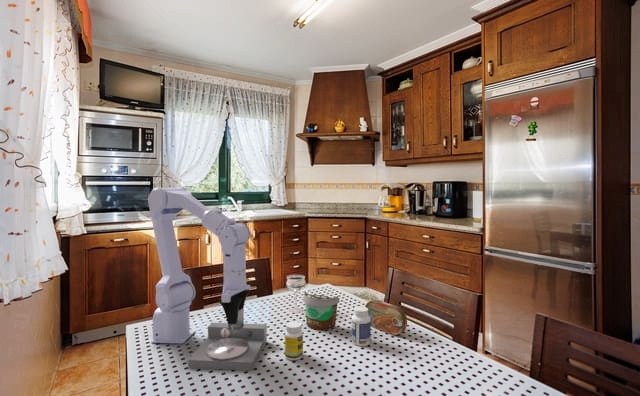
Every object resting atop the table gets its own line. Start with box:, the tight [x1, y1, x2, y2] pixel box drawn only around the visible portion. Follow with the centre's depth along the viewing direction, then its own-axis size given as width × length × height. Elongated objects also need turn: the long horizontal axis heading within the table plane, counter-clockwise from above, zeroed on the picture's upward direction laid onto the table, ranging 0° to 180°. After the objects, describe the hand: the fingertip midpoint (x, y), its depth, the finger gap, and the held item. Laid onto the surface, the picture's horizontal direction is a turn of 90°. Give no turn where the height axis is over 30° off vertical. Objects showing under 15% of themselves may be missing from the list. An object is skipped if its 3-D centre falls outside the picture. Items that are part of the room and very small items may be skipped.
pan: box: [207, 338, 248, 360], centre depth 85 cm, size 10×10×1 cm
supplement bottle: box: [284, 321, 304, 361], centre depth 86 cm, size 5×5×8 cm
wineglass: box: [286, 274, 306, 314], centre depth 118 cm, size 7×7×12 cm
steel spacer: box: [228, 307, 245, 330], centre depth 87 cm, size 4×4×4 cm
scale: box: [187, 322, 268, 371], centre depth 87 cm, size 16×15×5 cm
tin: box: [364, 299, 408, 336], centre depth 102 cm, size 15×3×8 cm, turn 41°
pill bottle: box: [351, 306, 372, 347], centre depth 94 cm, size 5×5×10 cm
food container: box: [302, 291, 340, 331], centre depth 103 cm, size 12×6×10 cm, turn 68°
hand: (234, 320), depth 87 cm, fingers closed on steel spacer, 4 cm apart
